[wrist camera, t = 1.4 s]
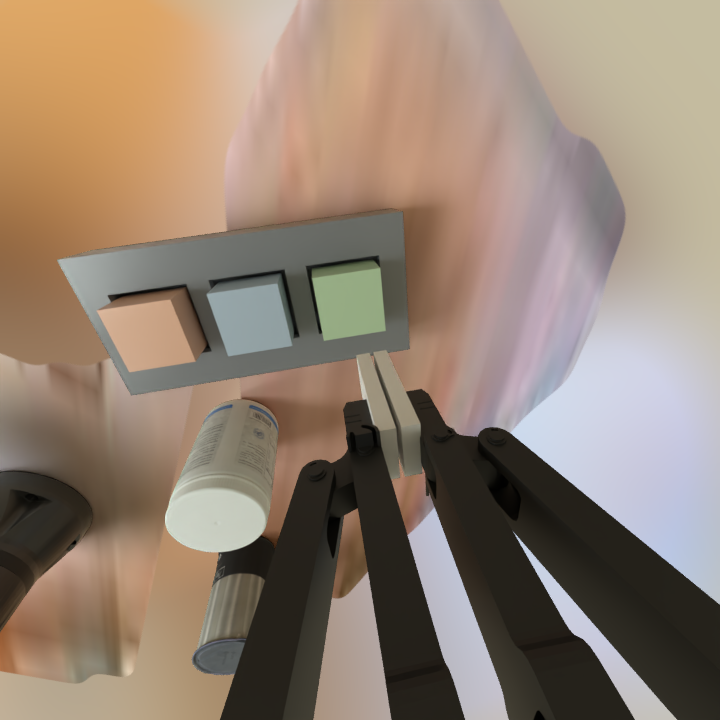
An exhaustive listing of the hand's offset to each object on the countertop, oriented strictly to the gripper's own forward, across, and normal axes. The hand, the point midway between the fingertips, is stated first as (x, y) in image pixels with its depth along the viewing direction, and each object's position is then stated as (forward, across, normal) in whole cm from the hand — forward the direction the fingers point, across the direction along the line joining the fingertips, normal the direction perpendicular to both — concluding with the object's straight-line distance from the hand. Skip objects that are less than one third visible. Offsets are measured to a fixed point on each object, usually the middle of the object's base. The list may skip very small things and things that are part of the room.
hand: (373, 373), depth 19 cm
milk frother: (+21, -21, -47) cm, 55 cm away
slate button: (+16, -9, 0) cm, 19 cm away
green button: (+16, 0, 0) cm, 16 cm away
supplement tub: (+21, -16, -17) cm, 31 cm away
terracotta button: (+16, -18, 0) cm, 24 cm away
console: (+20, -9, 0) cm, 22 cm away
